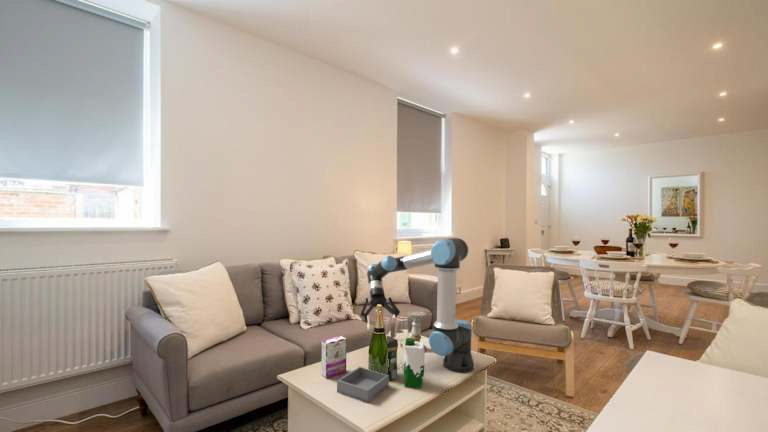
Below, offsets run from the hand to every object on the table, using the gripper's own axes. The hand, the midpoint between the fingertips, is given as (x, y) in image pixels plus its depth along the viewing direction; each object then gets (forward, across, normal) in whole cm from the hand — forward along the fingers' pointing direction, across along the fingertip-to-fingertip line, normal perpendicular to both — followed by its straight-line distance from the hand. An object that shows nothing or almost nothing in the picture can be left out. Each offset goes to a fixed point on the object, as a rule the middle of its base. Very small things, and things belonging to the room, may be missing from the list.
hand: (382, 328), depth 183 cm
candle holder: (0, -24, -27) cm, 36 cm away
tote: (+28, +13, +1) cm, 31 cm away
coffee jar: (+21, 0, -6) cm, 22 cm away
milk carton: (+28, -10, +1) cm, 30 cm away
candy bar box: (+16, +24, -11) cm, 31 cm away
